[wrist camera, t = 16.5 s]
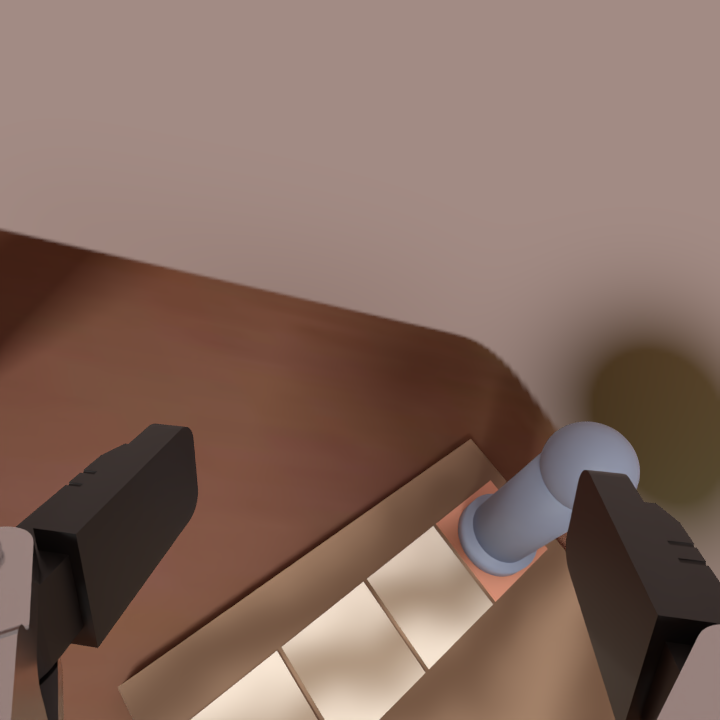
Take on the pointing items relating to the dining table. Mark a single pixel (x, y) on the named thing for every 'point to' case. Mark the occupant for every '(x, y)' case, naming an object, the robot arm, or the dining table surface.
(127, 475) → the robot arm
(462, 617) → the game board
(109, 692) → the dining table surface
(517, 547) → the pawn
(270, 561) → the dining table surface
